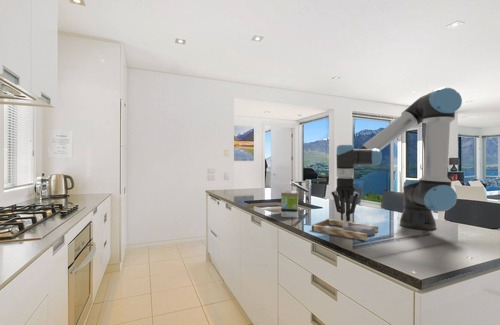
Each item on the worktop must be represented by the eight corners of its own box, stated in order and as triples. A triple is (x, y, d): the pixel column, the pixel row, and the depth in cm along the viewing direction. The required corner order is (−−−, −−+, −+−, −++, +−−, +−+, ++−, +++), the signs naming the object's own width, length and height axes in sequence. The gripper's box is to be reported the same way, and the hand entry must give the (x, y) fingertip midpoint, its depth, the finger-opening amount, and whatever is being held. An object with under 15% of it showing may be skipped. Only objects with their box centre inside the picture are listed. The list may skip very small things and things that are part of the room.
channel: (378, 231, 115) (378, 226, 115) (366, 240, 102) (366, 234, 102) (328, 223, 132) (327, 218, 132) (311, 230, 118) (311, 225, 118)
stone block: (341, 237, 113) (359, 238, 104) (339, 226, 114) (357, 226, 105) (359, 234, 118) (378, 235, 110) (358, 224, 119) (376, 224, 111)
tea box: (297, 218, 146) (297, 192, 146) (280, 217, 148) (280, 192, 148) (298, 213, 161) (298, 190, 161) (282, 212, 163) (282, 190, 163)
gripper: (328, 177, 118) (328, 227, 118) (356, 178, 110) (357, 232, 110) (335, 176, 124) (335, 224, 124) (362, 177, 115) (362, 228, 115)
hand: (345, 227), depth 117 cm, fingers closed
